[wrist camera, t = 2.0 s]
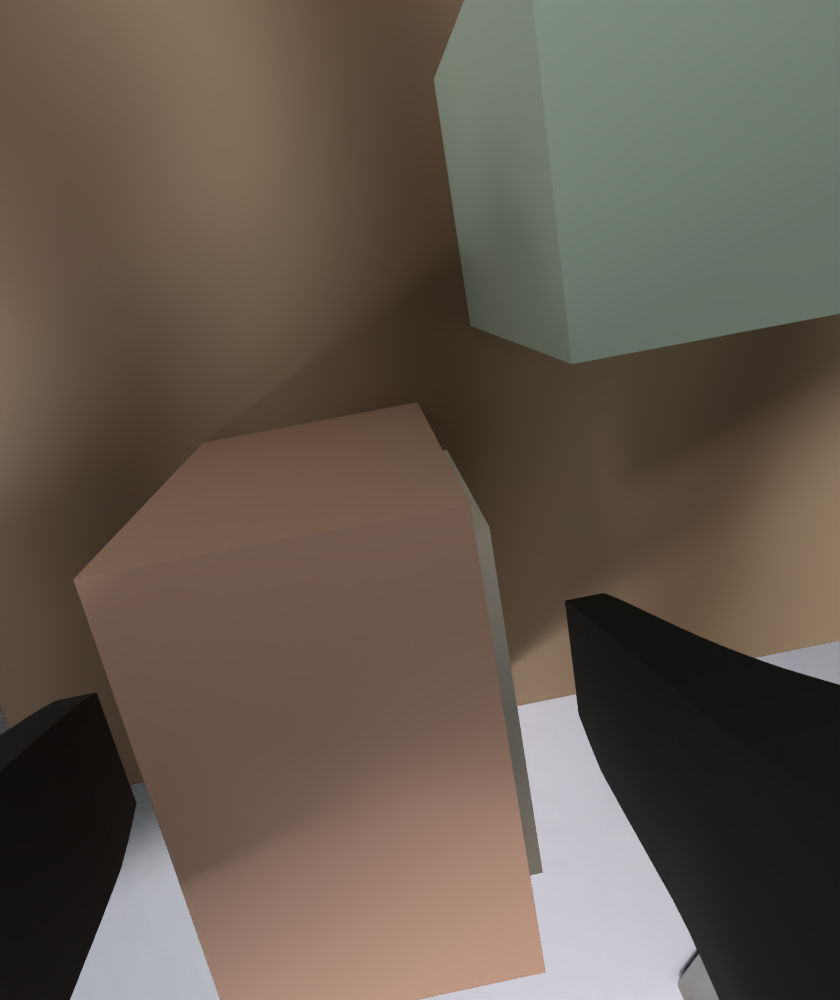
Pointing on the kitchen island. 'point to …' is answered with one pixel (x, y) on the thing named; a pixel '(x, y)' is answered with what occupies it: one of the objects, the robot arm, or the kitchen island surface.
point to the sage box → (643, 168)
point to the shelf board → (350, 339)
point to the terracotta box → (326, 712)
